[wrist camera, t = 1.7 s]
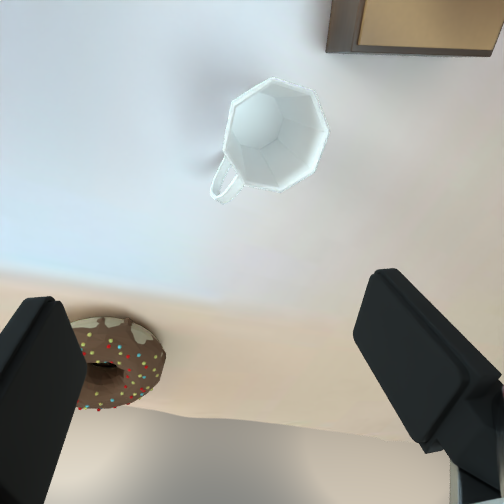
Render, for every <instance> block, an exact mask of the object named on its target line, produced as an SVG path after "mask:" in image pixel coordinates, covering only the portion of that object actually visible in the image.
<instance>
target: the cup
mask: <svg viewBox="0 0 504 504" xmlns="http://www.w3.org/2000/svg"><path fill="white" fill-rule="evenodd" d="M329 134H330V129H329V127H328V124H327V121H326V119H325V116H324V113H323V111H322V108H321V105H320V102H319V100H318V97H317V94H316V92H315V90H312V89H309V88H306V87H303V86H300V85H297V84H294V83H290V82H287V81H284V80H281V79H278V78H275V77H271V78H269V79H267V80H265V81H264V82H262V83H259V84H257V85H256V86H254V87H253V88H251V89H250V90H248V91H247V92H245V93H244V94H242V95H241V96H239V97H238V98H236V99H235V100H233V101H232V103H231V107H230V112H229V117H228V121H227V126H226V131H225V137H224V142H223V148H222V151H223V153H224V154H225V156H224V158H223V160H222V162H221V164H220V166H219V168H218V171H217V173H216V175H215V177H214V180H213V182H212V185H211V190H210V194H211V197H212V198H214V199H215V200H217V201H218V202H220V203H221V204H223V205H224V204H226V203H229V202H231V201H232V200H233V199H234V198H235V197H236V196H237V194H238V193H239V192H240V191H241V189H242V188H243V187H244V185H245V186H249V187H254V188H259V189H264V190H269V191H274V192H279V193H281V192H283V191H285V190H286V189H288V188H290V187H291V186H293V185H295V184H296V183H298V182H300V181H301V180H303V179H305V178H306V177H308V176H310V175H311V174H313V173H315V171H316V168H317V166H318V163H319V160H320V158H321V155H322V152H323V150H324V147H325V145H326V142H327V139H328V137H329ZM230 165H231V166H232V167H233V169H234V171H235V172H236V176H235V177H234V179H233V180H232V182H231V183H230V185H229V186H228V188H227V189H226V190H225V191H224V192H223V193H222V194H220V189H221V186H222V183H223V181H224V178H225V176H226V174H227V172H228V170H229V168H230Z"/></svg>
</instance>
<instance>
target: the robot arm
mask: <svg viewBox="0 0 504 504" xmlns="http://www.w3.org/2000/svg"><path fill="white" fill-rule="evenodd" d="M353 338H354V341H355V343H356V345H357V346H358V348H359V350H360V351H361V353H362V355H363V356H364V358H365V360H366V362H367V363H368V365H369V367H370V368H371V370H372V372H373V374H374V375H375V377H376V379H377V380H378V382H379V384H380V385H381V387H382V389H383V391H384V392H385V394H386V396H387V397H388V399H389V401H390V402H391V404H392V406H393V408H394V409H395V411H396V413H397V414H398V416H399V418H400V420H401V421H402V423H403V425H404V426H405V428H406V430H407V431H408V433H409V435H410V436H411V438H412V439H413V440H414V441H415V442H416V443H419V444H420V446H421V447H422V449H423V451H424V452H425V454H427V453H432V452H437V451H442V450H443V449H444V450H445V452H446V453H447V455H448V456H449V458H450V504H504V385H503V384H502V383H501V382H500V381H499V380H498V379H499V378H500V376H501V375H502V374H501V373H500V372H499V371H498V370H497V369H496V368H495V367H494V366H493V365H492V364H491V363H490V362H489V361H488V360H487V359H486V358H485V357H484V356H483V355H482V354H481V353H480V352H479V351H478V350H477V349H476V348H475V347H474V346H473V345H472V344H471V343H470V342H469V341H468V340H467V339H466V338H465V337H464V336H463V335H462V334H461V333H460V332H459V331H458V330H457V329H456V328H455V327H454V326H453V325H452V324H451V323H450V322H449V321H448V320H447V319H446V318H445V317H444V316H443V315H442V314H441V313H440V312H439V311H438V310H437V309H436V308H435V307H434V306H433V305H432V304H431V303H430V302H429V301H428V300H427V299H426V298H425V297H424V296H423V295H422V294H421V293H420V292H419V291H418V290H417V289H416V288H415V287H414V286H413V285H412V283H411V282H410V281H409V280H408V279H407V278H406V277H405V276H404V275H403V274H402V273H401V272H400V271H399V270H397V269H395V268H390V269H379V270H376V271H375V273H374V274H373V275H371V276H370V278H369V282H368V285H367V288H366V291H365V295H364V298H363V301H362V304H361V307H360V311H359V314H358V317H357V320H356V324H355V327H354V330H353ZM86 374H87V363H86V360H85V358H84V355H83V353H82V350H81V348H80V345H79V343H78V341H77V338H76V336H75V333H74V331H73V329H72V326H71V324H70V321H69V319H68V316H67V314H66V312H65V309H64V307H63V304H62V303H61V302H60V301H55V299H54V298H53V297H51V296H47V297H35V298H27V299H25V300H24V301H23V302H22V303H21V305H20V306H19V308H18V309H17V311H16V312H15V313H14V315H13V316H12V318H11V319H10V321H9V322H8V323H7V325H6V326H5V328H4V329H3V331H2V332H1V334H0V504H44V501H45V498H46V495H47V492H48V489H49V486H50V483H51V480H52V477H53V474H54V471H55V468H56V465H57V462H58V459H59V456H60V453H61V450H62V447H63V444H64V441H65V438H66V435H67V432H68V429H69V426H70V422H71V420H72V417H73V414H74V410H75V408H76V404H77V401H78V398H79V395H80V392H81V389H82V386H83V383H84V380H85V377H86Z"/></svg>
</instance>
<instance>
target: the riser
mask: <svg viewBox="0 0 504 504" xmlns="http://www.w3.org/2000/svg"><path fill="white" fill-rule="evenodd" d="M503 24H504V0H332V7H331V15H330V23H329V30H328V38H327V45H326V53H339V54H370V55H400V56H430V57H490V56H491V55H492V52H493V49H494V47H495V44H496V42H497V39H498V37H499V34H500V31H501V29H502V26H503Z"/></svg>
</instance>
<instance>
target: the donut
mask: <svg viewBox="0 0 504 504" xmlns="http://www.w3.org/2000/svg"><path fill="white" fill-rule="evenodd" d="M70 324H71V326H72V329H73V331H74V333H75V336H76V338H77V341H78V343H79V345H80V348H81V350H82V353H83V355H84V358H85V360H86V363H87V374H86V377H85V380H84V383H83V386H82V389H81V392H80V395H79V398H78V401H77V404H76V407H79V408H78V409H79V410H81V409H82V408H84V409H85V410H86V409H87V408H98V409H97V411H100V410H101V409H102V408H116V407H117V406H121V405H124V404H127V405H129V404H130V403H132V402H134V401H136V400H137V399H141V397H142V396H144V395H145V394H147V393H148V392H149V391H152V390H153V387H154V386H155V385H156V384H157V383H158V382H159V381H160V377H161V374H162V370H163V366H164V363H165V359H166V352H165V351H164V350H163V349H162V345H161V344H160V343H159V341H158V340H157V339H156V337H155V336H154V335H153V334H152V333H151V332H150V331H148V330H147V329H145V328H144V327H142V326H140V325H138V324H135V323H134V322H133V321H131V320H130V319H129V318H125V319H118V318H112V317H94V318H88V319H82V320H77V321H75V322H72V323H70ZM101 362H104V363H107V362H111V363H113V364H115V365H116V366H117V367H98V366H94V365H92V364H90V363H101Z"/></svg>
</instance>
